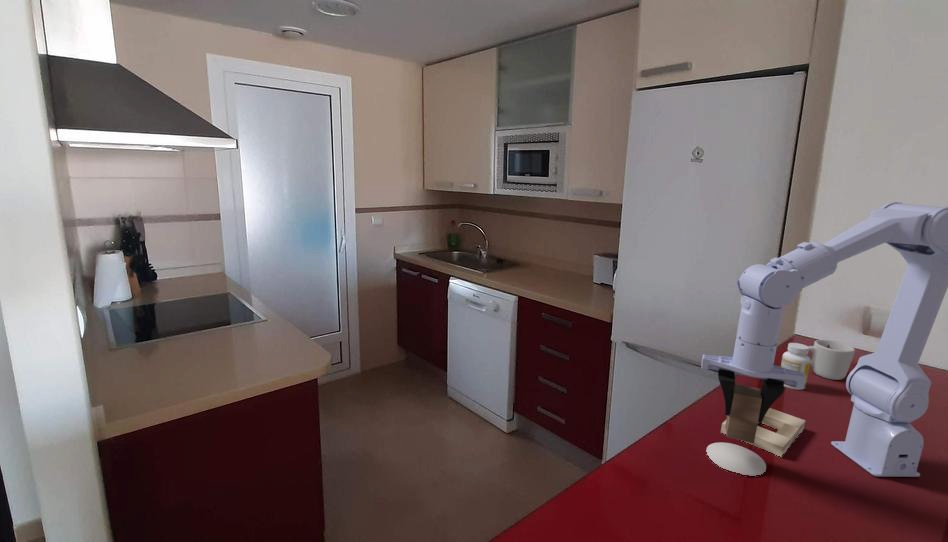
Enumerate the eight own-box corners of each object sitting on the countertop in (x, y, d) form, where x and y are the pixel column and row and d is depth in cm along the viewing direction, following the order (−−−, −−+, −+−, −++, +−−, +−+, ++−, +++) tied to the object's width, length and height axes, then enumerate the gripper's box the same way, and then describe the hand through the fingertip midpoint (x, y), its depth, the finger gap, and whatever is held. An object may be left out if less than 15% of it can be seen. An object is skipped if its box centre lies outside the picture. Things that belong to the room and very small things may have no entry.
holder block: (803, 429, 91) (805, 420, 90) (781, 457, 81) (783, 447, 81) (747, 409, 98) (748, 400, 97) (720, 432, 89) (722, 423, 88)
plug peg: (751, 431, 81) (759, 388, 79) (753, 443, 77) (762, 398, 75) (725, 425, 82) (732, 383, 81) (726, 436, 79) (734, 393, 77)
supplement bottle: (796, 380, 112) (804, 342, 110) (810, 391, 107) (818, 351, 105) (773, 379, 113) (780, 340, 111) (785, 389, 108) (793, 349, 105)
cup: (802, 378, 114) (808, 347, 112) (791, 365, 122) (796, 336, 120) (854, 385, 111) (861, 353, 109) (839, 371, 119) (846, 342, 117)
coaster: (778, 476, 76) (778, 474, 76) (724, 476, 76) (724, 474, 76) (745, 444, 85) (745, 442, 85) (696, 444, 85) (696, 442, 85)
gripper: (805, 340, 76) (790, 416, 79) (706, 324, 82) (695, 396, 85) (814, 355, 70) (797, 437, 73) (706, 337, 76) (694, 413, 79)
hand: (742, 416), depth 79 cm, fingers closed on plug peg, 4 cm apart
